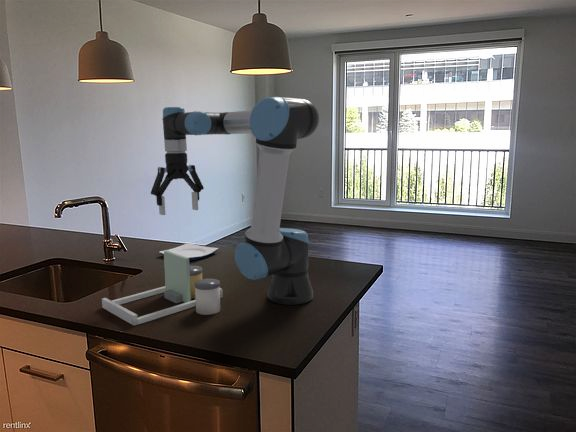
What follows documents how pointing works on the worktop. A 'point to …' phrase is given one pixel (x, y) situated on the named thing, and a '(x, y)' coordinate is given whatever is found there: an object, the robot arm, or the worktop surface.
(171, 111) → the robot arm
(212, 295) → the cream jar
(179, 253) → the plate
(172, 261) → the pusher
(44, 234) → the worktop surface
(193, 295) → the amber jar
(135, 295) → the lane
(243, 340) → the worktop surface
